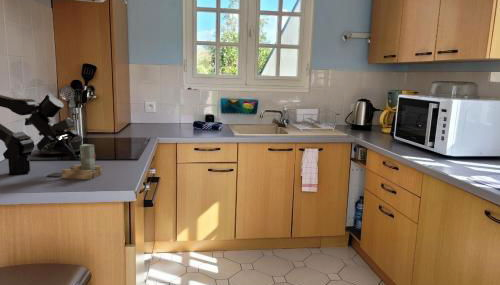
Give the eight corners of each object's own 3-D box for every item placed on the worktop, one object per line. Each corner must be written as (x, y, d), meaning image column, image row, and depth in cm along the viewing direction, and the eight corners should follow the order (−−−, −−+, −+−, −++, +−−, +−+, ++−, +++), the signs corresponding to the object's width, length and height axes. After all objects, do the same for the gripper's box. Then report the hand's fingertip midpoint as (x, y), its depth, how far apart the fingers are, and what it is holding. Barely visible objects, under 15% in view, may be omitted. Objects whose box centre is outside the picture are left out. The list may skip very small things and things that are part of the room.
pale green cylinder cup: (76, 177, 143) (75, 145, 141) (83, 174, 148) (82, 143, 146) (93, 178, 143) (92, 146, 141) (99, 175, 147) (98, 144, 145)
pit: (46, 176, 143) (46, 175, 143) (54, 173, 148) (54, 172, 148) (59, 177, 143) (59, 176, 143) (67, 174, 148) (67, 172, 148)
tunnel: (62, 177, 142) (61, 167, 141) (74, 172, 150) (74, 162, 149) (90, 179, 141) (90, 168, 140) (101, 174, 149) (101, 164, 148)
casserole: (57, 159, 175) (56, 140, 174) (28, 155, 182) (27, 137, 181) (98, 150, 198) (97, 134, 197) (71, 147, 205) (70, 131, 204)
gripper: (42, 113, 133) (74, 145, 134) (72, 109, 152) (100, 138, 152) (23, 134, 135) (54, 166, 136) (54, 128, 154) (82, 156, 154)
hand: (74, 155), depth 145 cm, fingers closed
